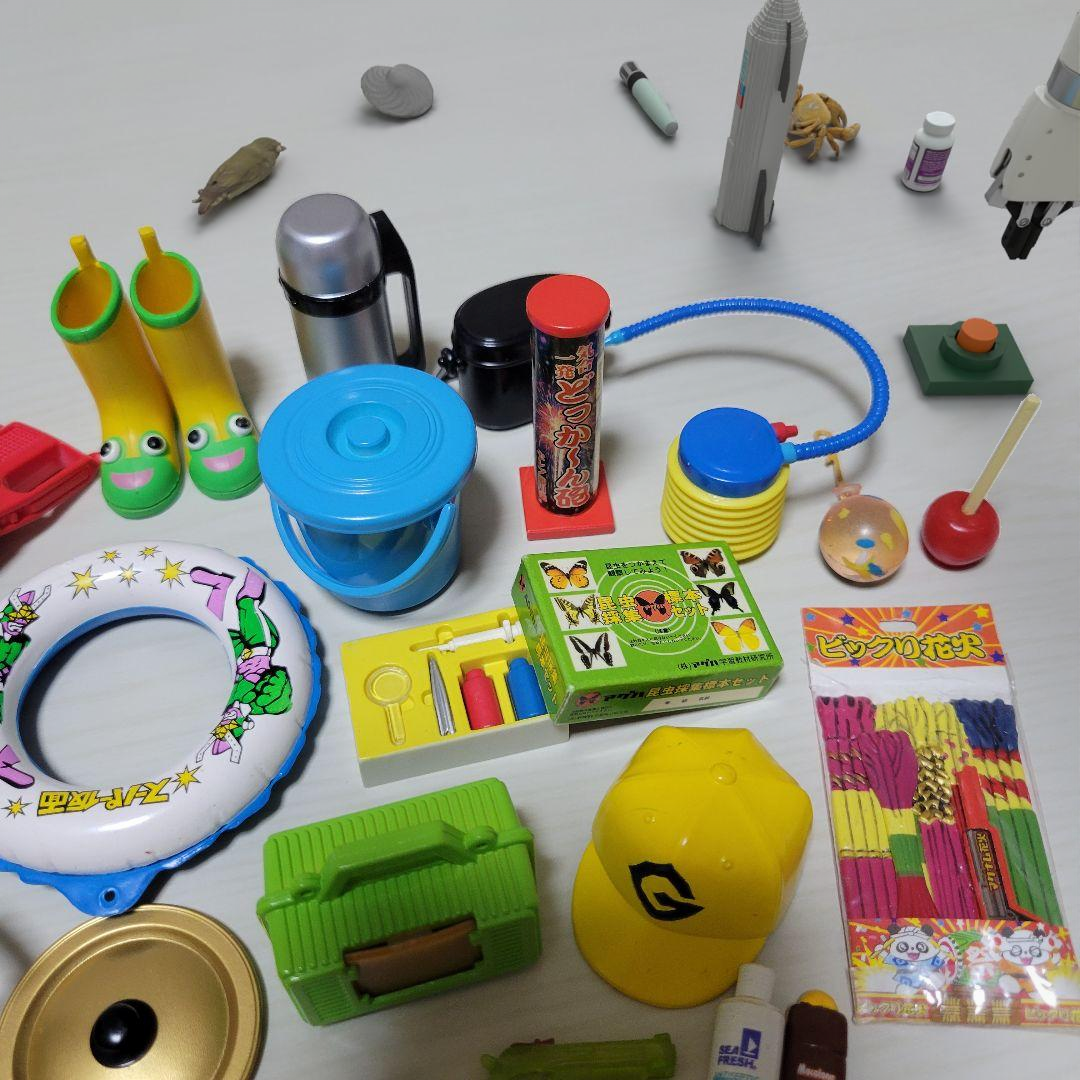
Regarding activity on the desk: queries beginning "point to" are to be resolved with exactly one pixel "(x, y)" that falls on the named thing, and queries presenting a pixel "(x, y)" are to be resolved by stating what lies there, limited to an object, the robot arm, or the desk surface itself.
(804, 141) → the crab model
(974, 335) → the press button
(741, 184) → the rocket model
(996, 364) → the button box
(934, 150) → the pill bottle
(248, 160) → the decorative bird model
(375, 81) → the seashell
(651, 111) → the flashlight
